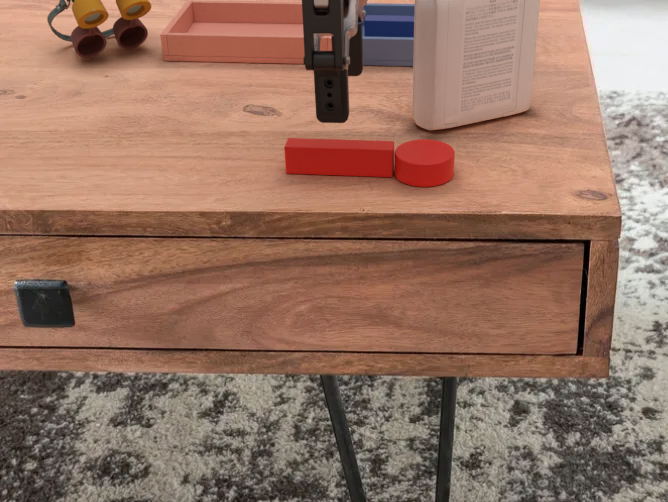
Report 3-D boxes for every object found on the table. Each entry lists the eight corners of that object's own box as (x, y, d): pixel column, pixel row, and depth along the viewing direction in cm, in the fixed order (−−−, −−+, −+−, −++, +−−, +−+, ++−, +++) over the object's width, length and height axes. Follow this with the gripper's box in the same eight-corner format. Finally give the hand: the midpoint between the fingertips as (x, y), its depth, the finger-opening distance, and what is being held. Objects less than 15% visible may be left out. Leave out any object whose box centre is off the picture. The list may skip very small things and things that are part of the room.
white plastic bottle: (510, 95, 90) (520, -56, 83) (538, 112, 87) (552, -43, 79) (404, 118, 86) (405, -37, 79) (429, 138, 83) (433, -23, 76)
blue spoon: (362, 48, 98) (362, 25, 97) (368, 32, 102) (367, 10, 101) (497, 51, 97) (498, 27, 96) (497, 35, 101) (499, 12, 99)
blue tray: (343, 64, 97) (342, 38, 95) (356, 28, 105) (355, 2, 103) (521, 69, 95) (523, 41, 93) (520, 31, 103) (522, 5, 101)
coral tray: (163, 60, 98) (159, 34, 97) (190, 25, 107) (187, 0, 105) (334, 64, 97) (333, 37, 95) (348, 28, 105) (347, 2, 103)
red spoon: (282, 182, 77) (280, 154, 76) (292, 156, 81) (290, 129, 80) (452, 188, 76) (453, 160, 75) (455, 161, 80) (456, 134, 78)
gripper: (290, -171, 72) (304, 60, 82) (249, -126, 61) (271, 137, 70) (400, -173, 71) (401, 62, 81) (379, -127, 60) (383, 139, 69)
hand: (341, 96), depth 75 cm, fingers open, 8 cm apart
